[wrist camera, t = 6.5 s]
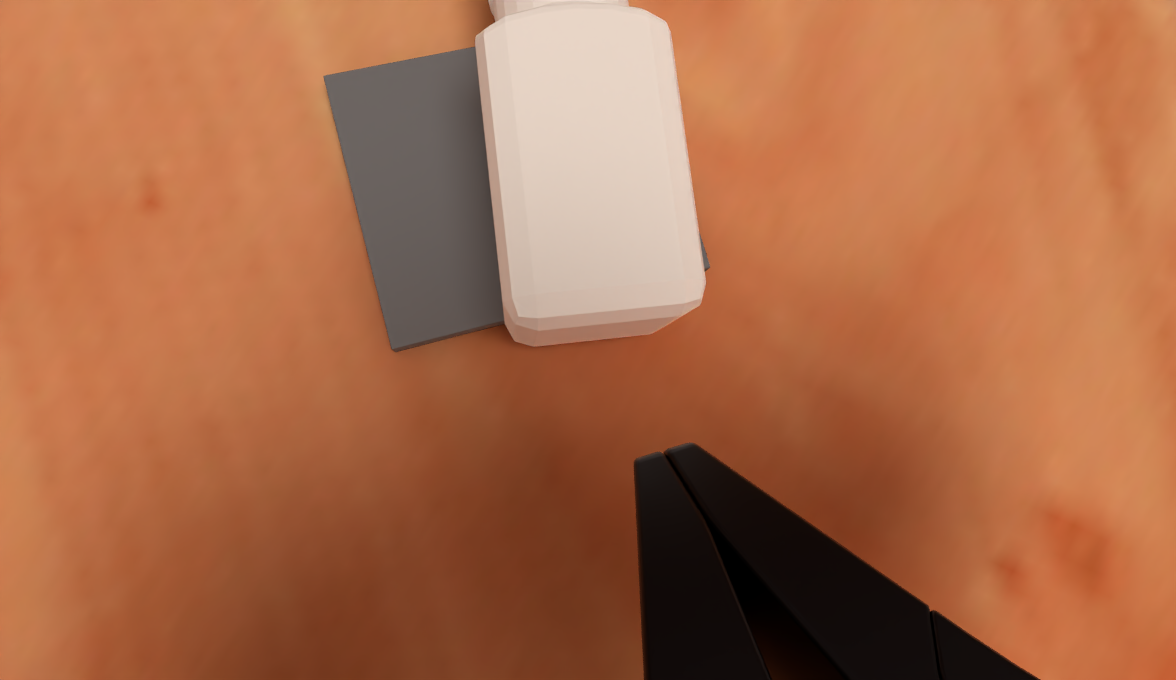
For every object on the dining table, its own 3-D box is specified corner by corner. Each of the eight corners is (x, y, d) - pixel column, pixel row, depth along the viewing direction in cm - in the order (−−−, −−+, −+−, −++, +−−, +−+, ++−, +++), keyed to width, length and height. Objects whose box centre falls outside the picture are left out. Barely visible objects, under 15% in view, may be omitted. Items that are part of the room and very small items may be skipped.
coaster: (704, 272, 17) (710, 267, 16) (395, 352, 16) (391, 349, 15) (628, 28, 18) (632, 16, 17) (329, 86, 16) (323, 75, 16)
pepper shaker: (507, 352, 16) (468, -16, 17) (669, 335, 16) (621, -22, 17) (506, 329, 12) (454, -152, 13) (719, 307, 12) (654, -153, 13)
